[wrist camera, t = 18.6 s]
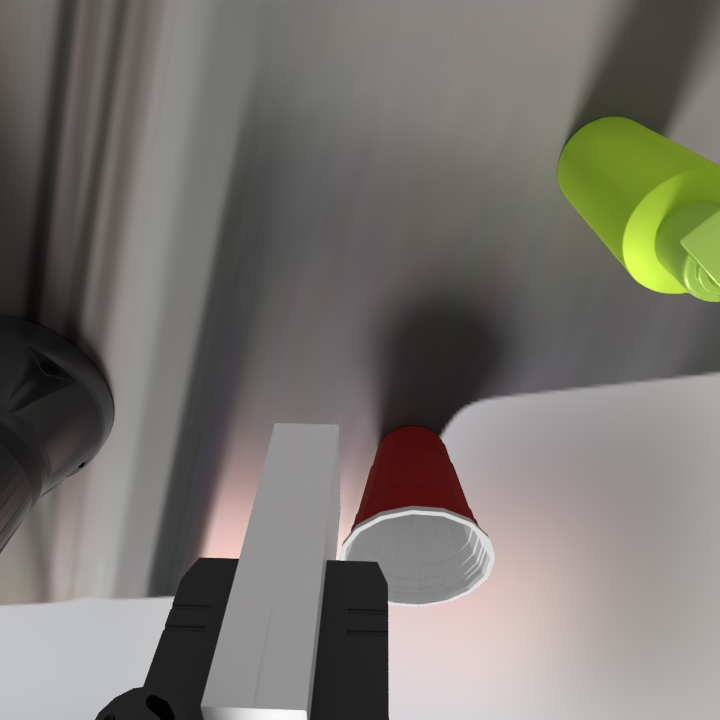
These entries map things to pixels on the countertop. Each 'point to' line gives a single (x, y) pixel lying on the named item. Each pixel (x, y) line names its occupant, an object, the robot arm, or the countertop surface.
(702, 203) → the soap dispenser
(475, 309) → the countertop surface
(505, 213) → the countertop surface
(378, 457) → the plastic cup
